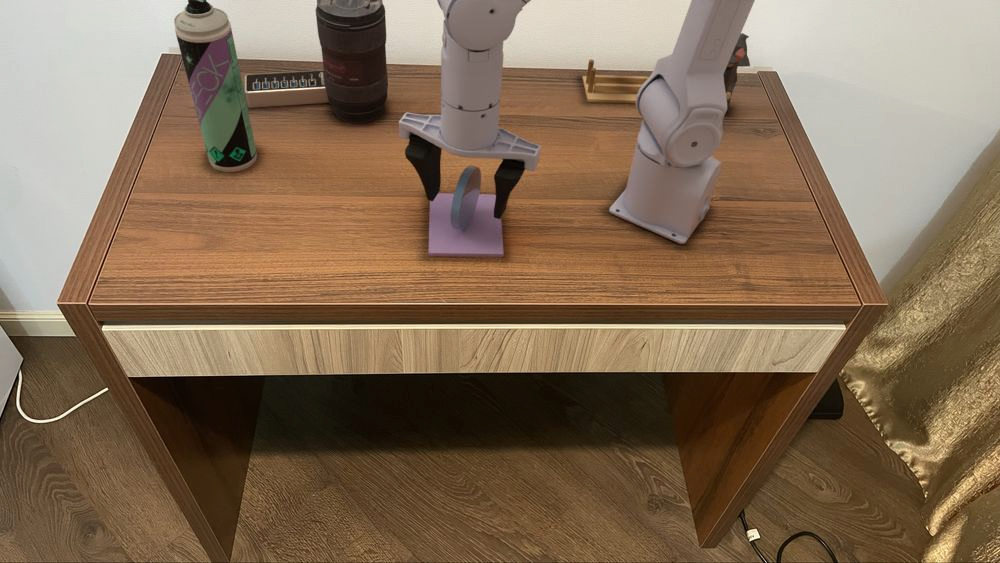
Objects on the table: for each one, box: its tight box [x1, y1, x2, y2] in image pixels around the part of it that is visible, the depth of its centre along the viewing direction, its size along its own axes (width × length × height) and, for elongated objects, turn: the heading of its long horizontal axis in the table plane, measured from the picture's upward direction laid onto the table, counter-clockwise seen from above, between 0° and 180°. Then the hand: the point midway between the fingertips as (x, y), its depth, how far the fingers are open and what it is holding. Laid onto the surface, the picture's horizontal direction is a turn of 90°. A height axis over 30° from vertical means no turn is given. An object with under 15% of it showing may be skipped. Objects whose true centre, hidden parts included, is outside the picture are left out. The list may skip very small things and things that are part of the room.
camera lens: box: [315, 0, 389, 124], centre depth 93 cm, size 8×8×15 cm
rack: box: [581, 59, 650, 105], centre depth 104 cm, size 11×6×4 cm, turn 93°
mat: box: [428, 192, 505, 258], centre depth 84 cm, size 10×8×1 cm
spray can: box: [173, 0, 258, 173], centre depth 83 cm, size 6×6×20 cm
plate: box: [451, 164, 482, 230], centre depth 81 cm, size 7×1×7 cm, turn 162°
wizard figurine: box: [724, 32, 751, 113], centre depth 99 cm, size 8×6×12 cm
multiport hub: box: [244, 69, 330, 109], centre depth 99 cm, size 4×11×2 cm, turn 103°
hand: (466, 204), depth 82 cm, fingers open, 7 cm apart
